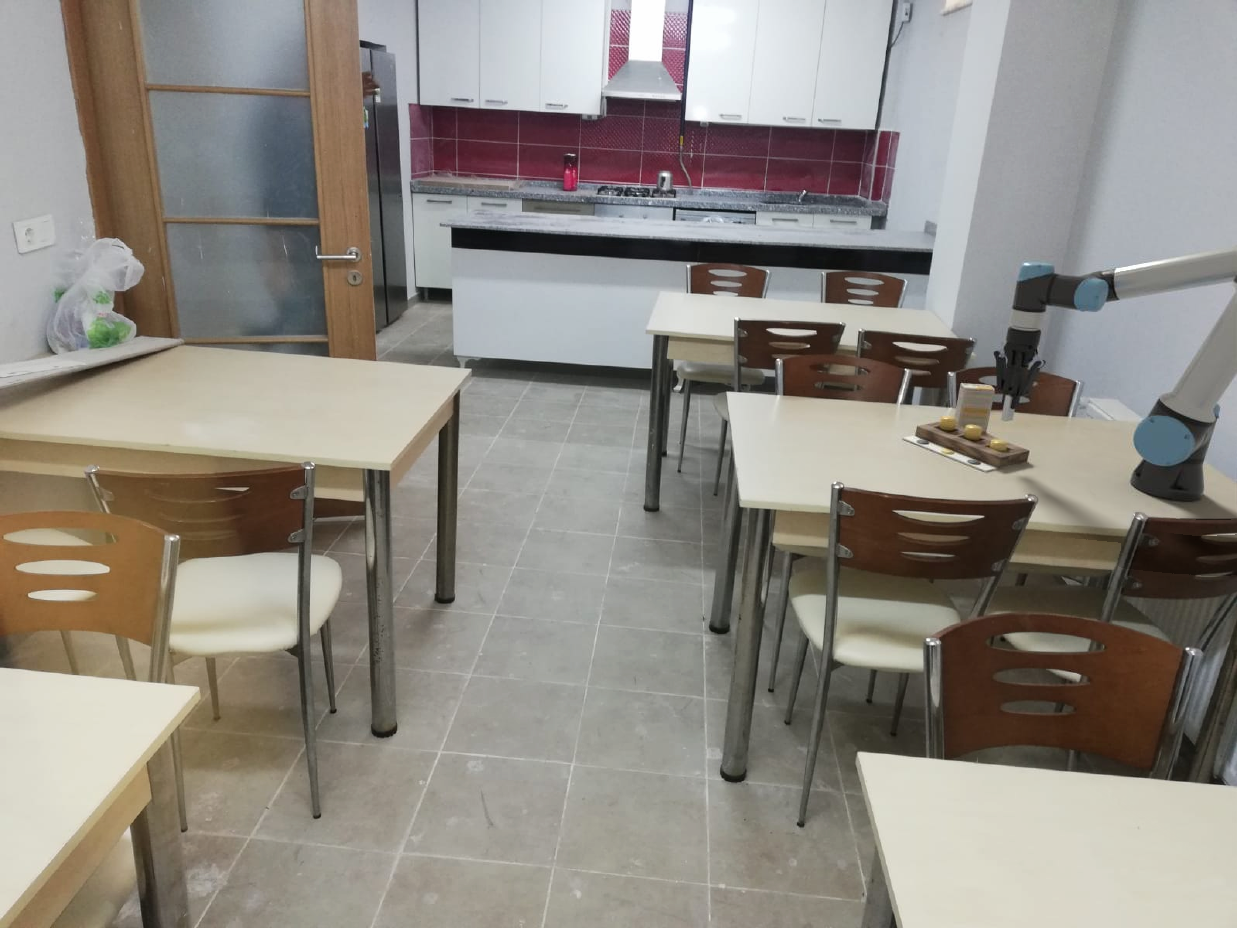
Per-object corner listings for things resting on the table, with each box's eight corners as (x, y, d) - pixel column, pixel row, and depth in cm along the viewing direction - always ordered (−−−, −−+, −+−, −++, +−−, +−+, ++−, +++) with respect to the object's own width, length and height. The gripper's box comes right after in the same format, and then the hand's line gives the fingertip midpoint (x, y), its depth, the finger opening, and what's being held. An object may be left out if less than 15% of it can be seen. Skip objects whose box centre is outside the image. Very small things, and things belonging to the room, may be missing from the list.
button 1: (957, 429, 235) (959, 419, 234) (948, 431, 233) (950, 421, 232) (945, 424, 238) (947, 415, 237) (935, 426, 236) (937, 417, 235)
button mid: (983, 438, 229) (985, 428, 228) (973, 440, 227) (975, 430, 226) (970, 433, 232) (972, 423, 231) (960, 435, 230) (962, 425, 229)
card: (996, 469, 217) (996, 467, 217) (985, 472, 215) (985, 470, 215) (913, 436, 237) (913, 435, 237) (902, 439, 235) (902, 437, 235)
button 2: (1008, 453, 223) (1011, 443, 222) (999, 456, 221) (1001, 445, 220) (995, 448, 227) (997, 438, 226) (985, 450, 224) (987, 440, 223)
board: (1027, 461, 224) (1029, 450, 223) (998, 468, 218) (1000, 457, 217) (943, 430, 244) (945, 420, 243) (915, 436, 238) (917, 426, 237)
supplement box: (981, 429, 247) (990, 384, 242) (986, 434, 243) (996, 389, 238) (951, 426, 248) (960, 382, 243) (955, 432, 243) (965, 387, 239)
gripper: (1059, 331, 209) (1039, 425, 217) (1010, 321, 219) (993, 411, 227) (1040, 334, 205) (1020, 429, 213) (992, 323, 215) (975, 415, 224)
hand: (1006, 419), depth 220 cm, fingers closed
